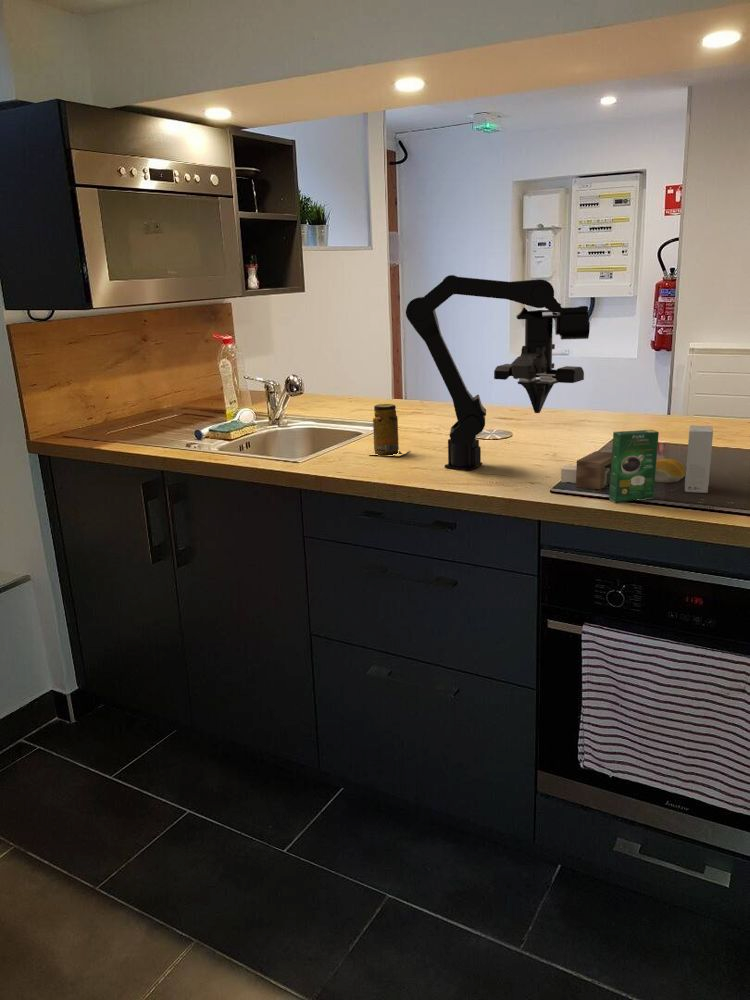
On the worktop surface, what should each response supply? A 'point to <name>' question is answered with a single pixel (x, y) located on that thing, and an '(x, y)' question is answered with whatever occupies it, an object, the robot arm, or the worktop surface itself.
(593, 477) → the wooden block
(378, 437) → the condiment
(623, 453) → the coffee box
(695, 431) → the skincare box
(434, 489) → the worktop surface
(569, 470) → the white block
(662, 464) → the bread roll
